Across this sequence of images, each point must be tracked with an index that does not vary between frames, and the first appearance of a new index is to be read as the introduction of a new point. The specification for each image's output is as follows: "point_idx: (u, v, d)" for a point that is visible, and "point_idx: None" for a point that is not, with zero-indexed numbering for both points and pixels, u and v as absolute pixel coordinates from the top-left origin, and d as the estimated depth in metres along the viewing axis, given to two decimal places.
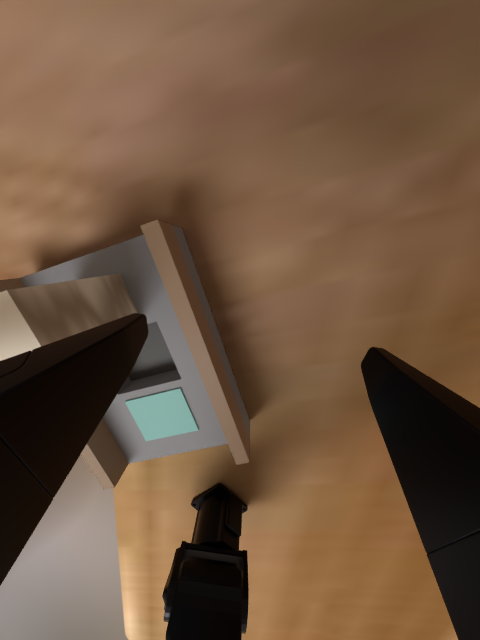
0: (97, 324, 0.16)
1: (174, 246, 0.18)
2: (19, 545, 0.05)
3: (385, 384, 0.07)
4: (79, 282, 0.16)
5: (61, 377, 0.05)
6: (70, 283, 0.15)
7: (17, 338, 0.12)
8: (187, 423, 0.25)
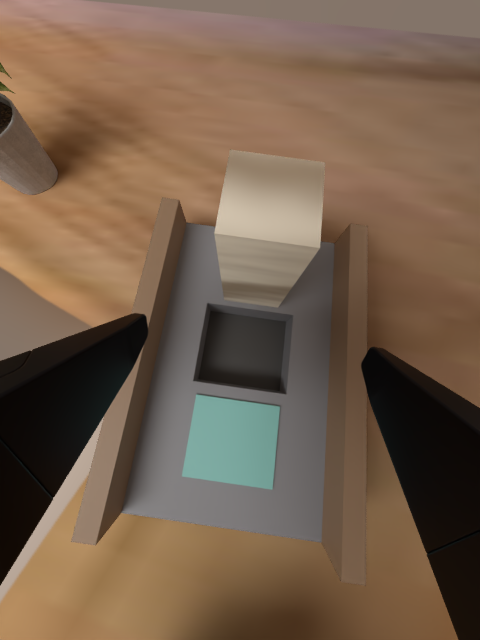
0: None
1: None
2: (19, 545, 0.05)
3: (385, 384, 0.07)
4: None
5: (61, 377, 0.05)
6: None
7: (301, 199, 0.11)
8: (262, 469, 0.17)
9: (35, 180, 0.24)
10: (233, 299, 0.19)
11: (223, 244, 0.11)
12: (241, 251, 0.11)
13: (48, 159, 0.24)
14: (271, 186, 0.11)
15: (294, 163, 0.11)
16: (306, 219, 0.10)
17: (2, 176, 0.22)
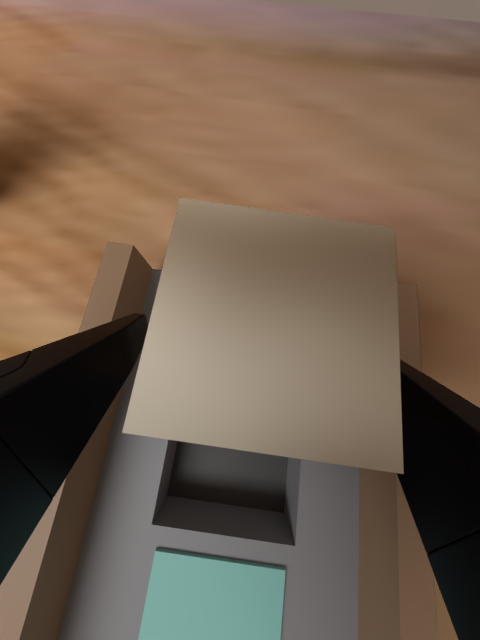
0: None
1: None
2: (19, 545, 0.05)
3: None
4: None
5: (61, 377, 0.05)
6: None
7: (347, 326, 0.04)
8: None
9: None
10: None
11: None
12: None
13: None
14: (274, 289, 0.04)
15: (325, 231, 0.05)
16: (363, 384, 0.04)
17: None
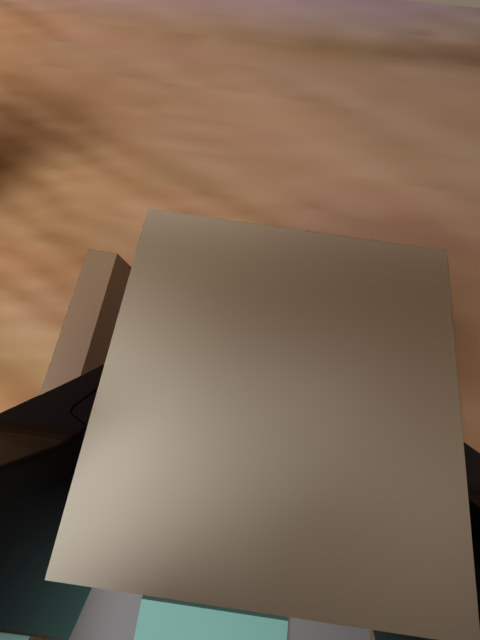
0: None
1: None
2: None
3: None
4: None
5: None
6: None
7: (385, 399, 0.03)
8: None
9: None
10: None
11: None
12: None
13: None
14: (279, 343, 0.03)
15: (350, 256, 0.03)
16: (413, 492, 0.03)
17: None
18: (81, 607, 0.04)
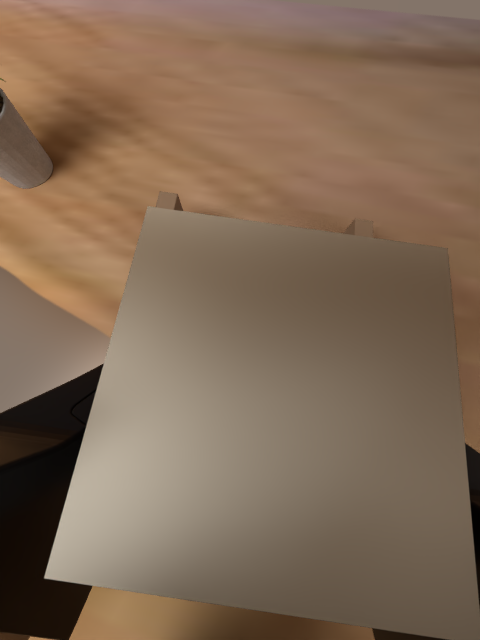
0: None
1: None
2: None
3: None
4: None
5: None
6: None
7: (386, 397, 0.03)
8: None
9: (29, 173, 0.23)
10: None
11: None
12: None
13: (42, 151, 0.24)
14: (279, 340, 0.03)
15: (350, 254, 0.03)
16: (413, 490, 0.03)
17: None
18: (81, 607, 0.04)
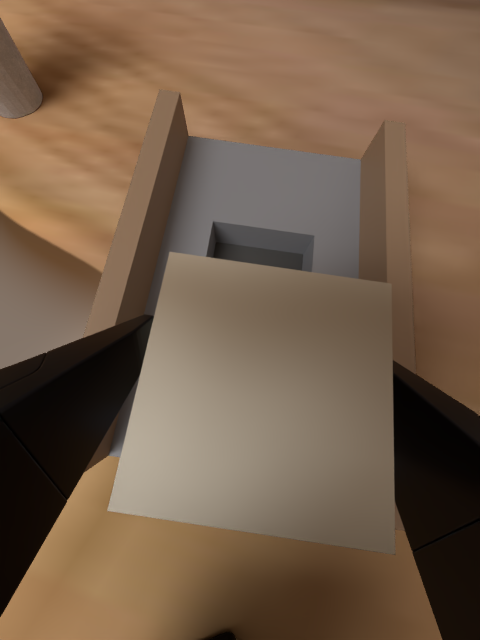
0: None
1: None
2: (35, 547, 0.05)
3: None
4: None
5: (76, 379, 0.05)
6: None
7: (340, 393, 0.04)
8: None
9: (15, 97, 0.21)
10: None
11: None
12: None
13: (30, 75, 0.21)
14: (265, 352, 0.04)
15: (319, 288, 0.05)
16: (355, 456, 0.04)
17: None
18: (9, 596, 0.04)
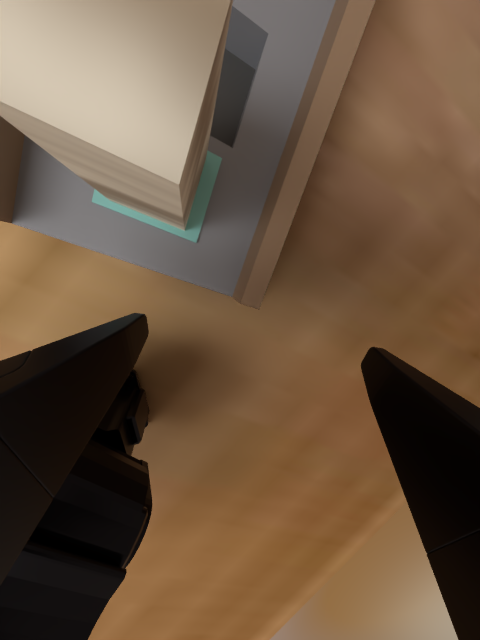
0: (192, 183, 0.10)
1: None
2: (19, 545, 0.05)
3: (385, 384, 0.07)
4: (213, 112, 0.10)
5: (61, 377, 0.05)
6: (215, 99, 0.09)
7: (166, 64, 0.05)
8: (189, 220, 0.15)
9: None
10: (120, 204, 0.14)
11: (5, 113, 0.06)
12: (56, 141, 0.06)
13: None
14: None
15: None
16: (167, 117, 0.06)
17: None
18: None
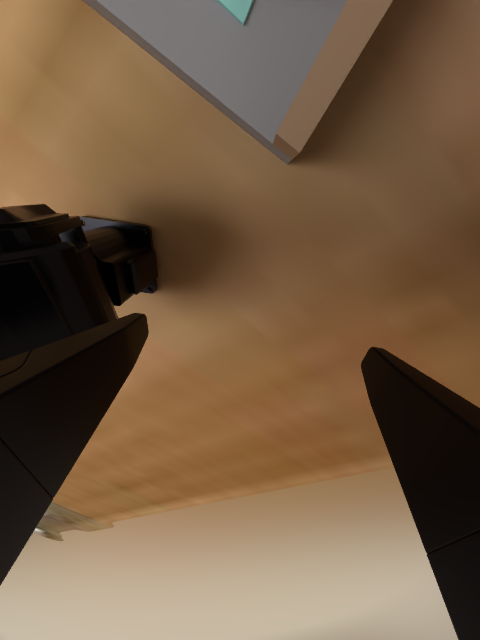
0: None
1: None
2: (19, 545, 0.05)
3: (385, 384, 0.07)
4: None
5: (61, 377, 0.05)
6: None
7: None
8: None
9: None
10: None
11: None
12: None
13: None
14: None
15: None
16: None
17: None
18: None
